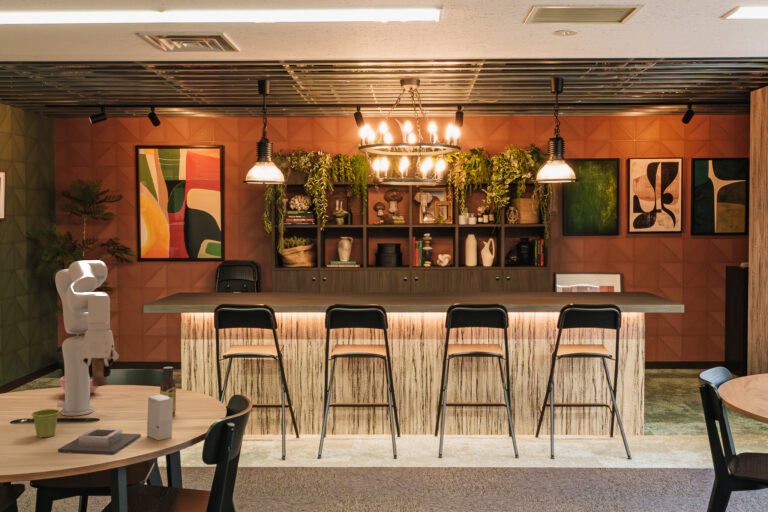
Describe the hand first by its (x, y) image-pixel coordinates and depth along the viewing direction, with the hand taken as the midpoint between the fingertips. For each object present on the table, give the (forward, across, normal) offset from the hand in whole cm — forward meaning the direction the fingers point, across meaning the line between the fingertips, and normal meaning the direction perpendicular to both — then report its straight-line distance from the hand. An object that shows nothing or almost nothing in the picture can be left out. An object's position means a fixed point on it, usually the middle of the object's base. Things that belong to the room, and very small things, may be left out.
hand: (99, 375), depth 252 cm
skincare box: (+23, +22, +1) cm, 32 cm away
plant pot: (+22, -20, -3) cm, 30 cm away
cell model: (+21, -40, +58) cm, 74 cm away
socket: (+22, +5, -10) cm, 25 cm away
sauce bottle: (+22, +14, +29) cm, 39 cm away
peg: (+3, 0, 0) cm, 3 cm away
